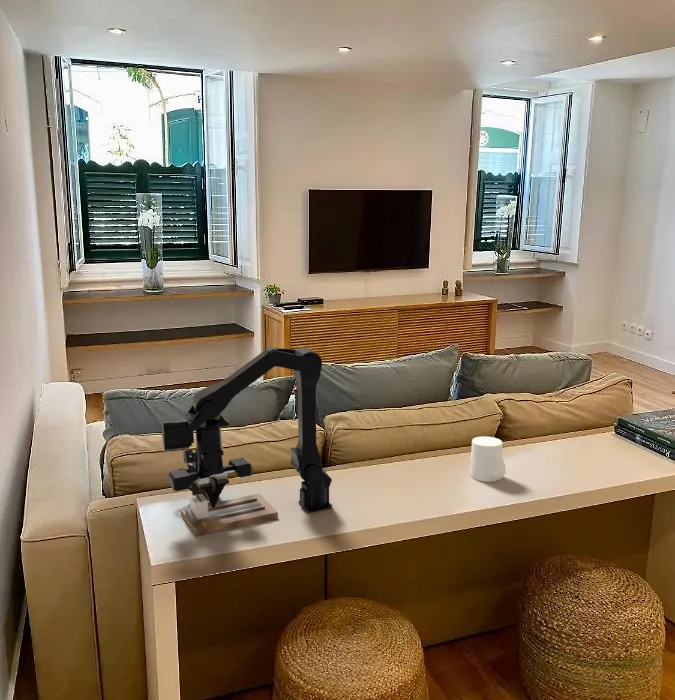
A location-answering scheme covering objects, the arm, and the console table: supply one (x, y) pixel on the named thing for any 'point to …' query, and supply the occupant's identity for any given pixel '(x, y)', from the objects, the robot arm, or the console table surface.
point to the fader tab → (199, 506)
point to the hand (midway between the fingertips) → (212, 507)
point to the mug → (487, 459)
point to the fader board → (230, 514)
